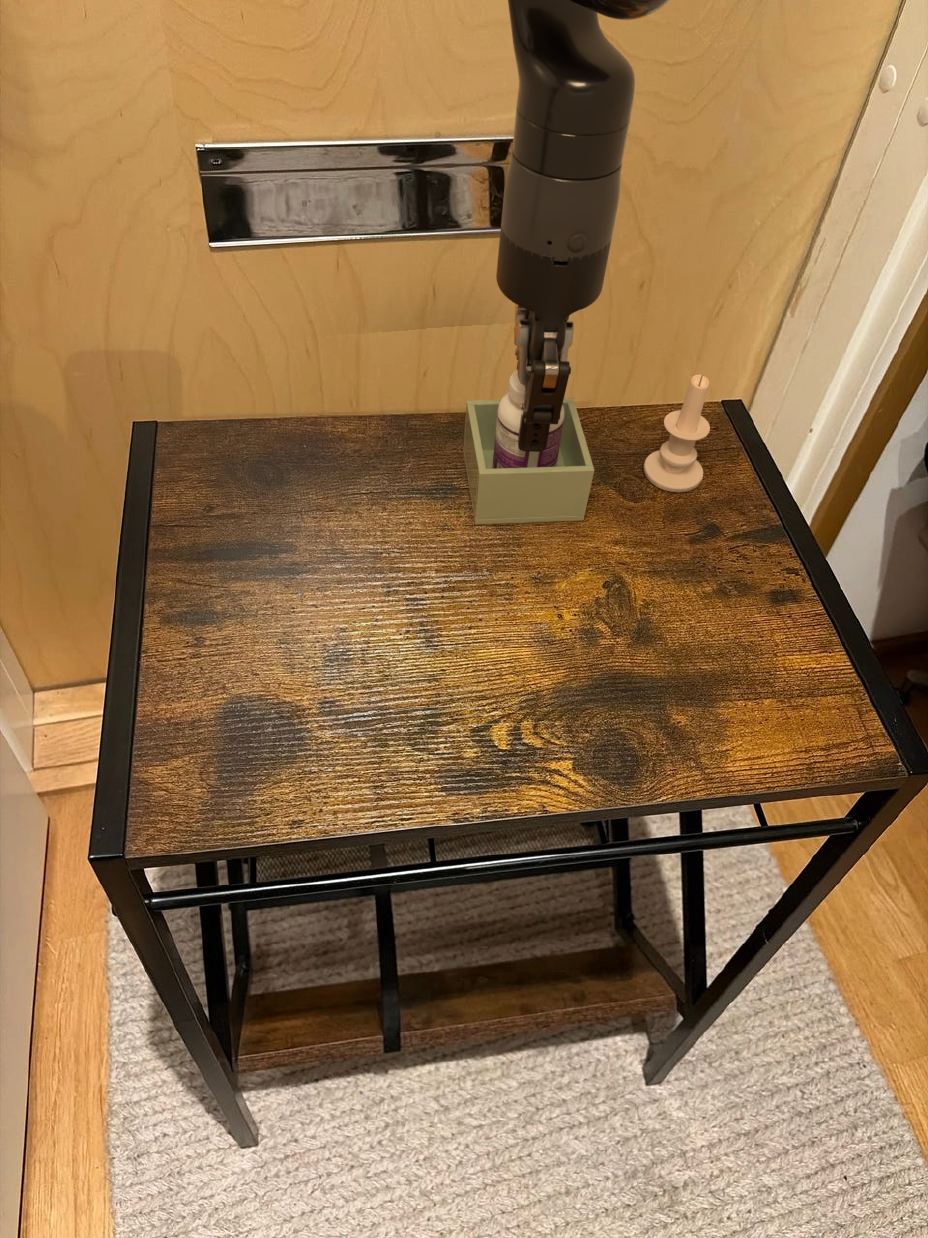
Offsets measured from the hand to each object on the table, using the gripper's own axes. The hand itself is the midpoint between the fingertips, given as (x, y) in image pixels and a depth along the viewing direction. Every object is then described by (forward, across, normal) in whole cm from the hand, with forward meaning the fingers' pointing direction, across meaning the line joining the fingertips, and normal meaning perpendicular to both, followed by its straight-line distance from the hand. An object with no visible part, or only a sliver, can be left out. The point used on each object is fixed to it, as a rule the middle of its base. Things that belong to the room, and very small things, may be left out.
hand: (529, 423), depth 76 cm
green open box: (+7, 0, 0) cm, 7 cm away
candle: (+7, -2, +14) cm, 15 cm away
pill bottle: (+6, 0, 0) cm, 6 cm away
